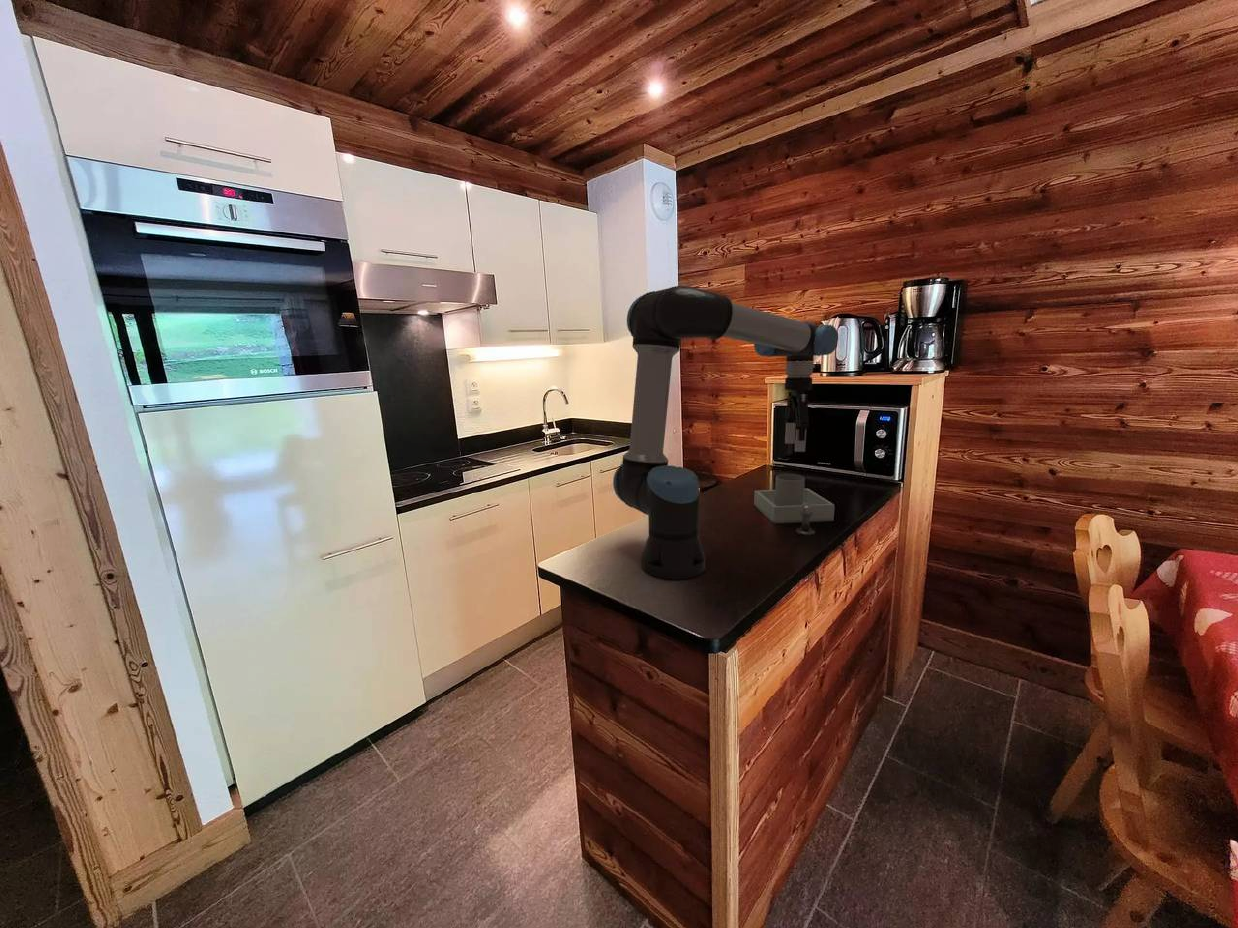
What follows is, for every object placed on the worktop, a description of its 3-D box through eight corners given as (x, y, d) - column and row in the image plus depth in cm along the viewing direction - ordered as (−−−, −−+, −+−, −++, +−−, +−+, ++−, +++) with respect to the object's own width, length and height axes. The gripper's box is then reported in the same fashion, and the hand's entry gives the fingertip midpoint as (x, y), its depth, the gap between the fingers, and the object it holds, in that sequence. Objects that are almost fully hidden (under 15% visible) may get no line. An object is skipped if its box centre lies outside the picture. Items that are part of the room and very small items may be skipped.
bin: (773, 523, 141) (774, 507, 140) (754, 505, 159) (754, 490, 158) (833, 520, 142) (834, 504, 141) (807, 502, 160) (808, 488, 159)
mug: (793, 517, 144) (795, 482, 142) (768, 510, 151) (770, 477, 148) (814, 508, 152) (816, 475, 149) (789, 502, 158) (791, 470, 156)
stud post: (800, 535, 131) (801, 507, 130) (792, 529, 136) (794, 502, 134) (818, 535, 131) (819, 506, 130) (810, 528, 136) (811, 501, 135)
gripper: (824, 378, 129) (818, 455, 133) (801, 374, 153) (797, 440, 157) (795, 378, 130) (790, 455, 134) (777, 375, 154) (774, 440, 158)
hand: (794, 447), depth 146 cm, fingers open, 13 cm apart
